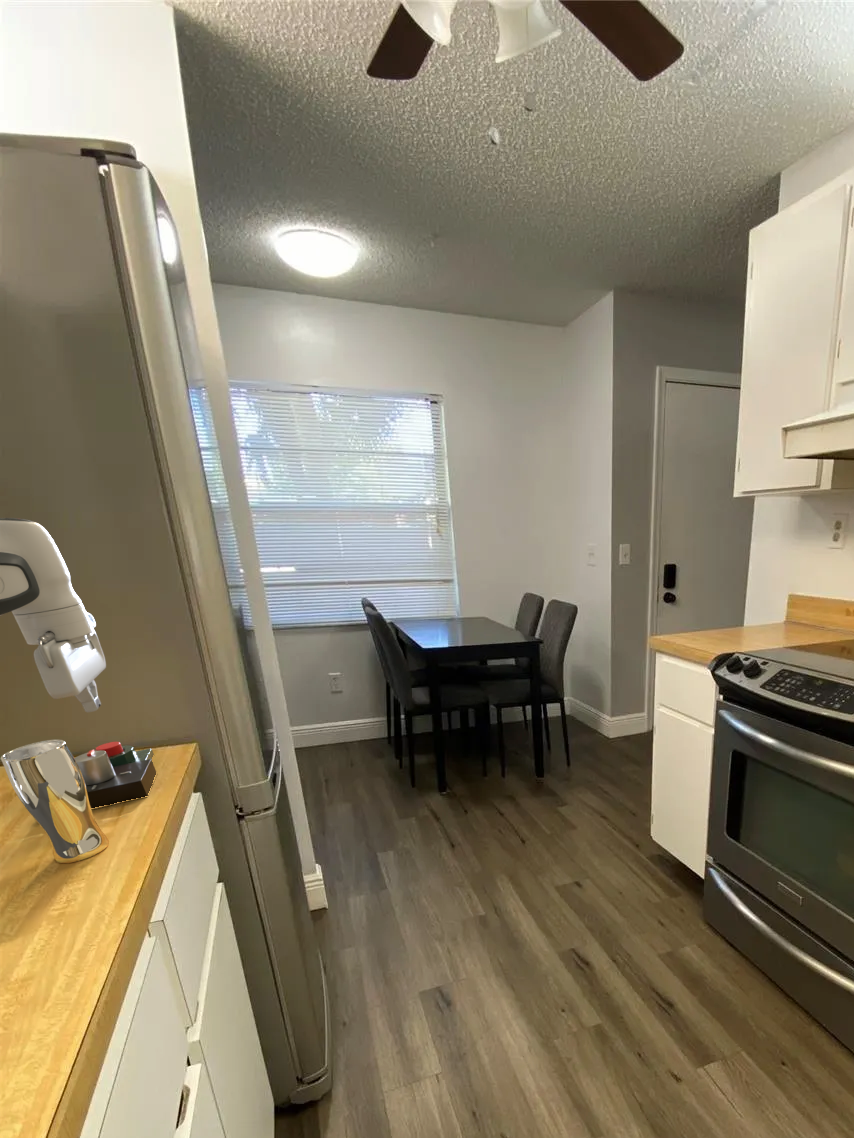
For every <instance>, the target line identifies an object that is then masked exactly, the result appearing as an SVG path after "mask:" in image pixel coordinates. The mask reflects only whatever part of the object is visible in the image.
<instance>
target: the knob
mask: <svg viewBox="0 0 854 1138" xmlns="http://www.w3.org/2000/svg"><path fill="white" fill-rule="evenodd" d="M74 759H75V760H76V762H77V764H78V766H79V768H80V770H81V773H82V775H83V777H84V780H85V784H86V785H93V784H98V783H102V782H105V781H107V780H110V779H112V778H113V777H114V776H115V775H116V774H115V771H114V769H113V767H112V764H111V762H110V760H109V758H108V755H107V753H106V751H96V750H95V749H90V750H89V751H88V752H85V753H82V754H80V755H77V756H76V757H74Z"/></svg>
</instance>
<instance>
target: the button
mask: <svg viewBox="0 0 854 1138" xmlns="http://www.w3.org/2000/svg"><path fill="white" fill-rule="evenodd" d="M122 746H123V745H122V744H121V742H120V741H110V742H106V743H102V744H100V745H98V746H96V747H95V751H106V753H107V755H108V757H110V756H114V755H117V754H120V753H121V752H123V748H122Z"/></svg>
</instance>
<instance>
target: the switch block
mask: <svg viewBox="0 0 854 1138" xmlns="http://www.w3.org/2000/svg"><path fill="white" fill-rule="evenodd" d="M121 746H122V748H123V752H121V753H120V754H117V755H114V756H110V757H108V758H109V760H110V762H111V764H112V767H115V766H120V765H125V764H129V763H134V762H139V761H143V760H148V759H151V760H152V757H153V755H154V756H155V754H154V751H153V749H152V747H150V748H146V749H140V750H136V749H135V747H134V746H132V745H128V744H127V745H121Z"/></svg>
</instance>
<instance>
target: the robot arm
mask: <svg viewBox="0 0 854 1138" xmlns="http://www.w3.org/2000/svg"><path fill="white" fill-rule="evenodd" d="M10 612H11V613H12V615H13V617H14V619H15V621H16V623H17V625H18V627H19V630H20V632H21V633H22V636H23V638H24V641H25V642H26V644H27V645H30V646H33V645H34V646H36V645H37V648H35V650H34V651H33V659H34V663H35V665H36V668H37V670H38V673H39V675H40V678H41V681H42V683H43V685H44V688H45V690H46V691H47V693H48V695H49V696H50V697H51V698H52V699H54V700H58V699H64V698H70V697H75V698H76V699H77V700H78V701H79V703H80V704H81V705H82V706H81V707H82V709H83V710H84V712H86V713H92V712H96V711H98V710H99V708H100V707H101V706H102V702H101V699H100V697H99V693H98V687H97V686H98V685H97V683H96V681H95V679H97V677H98V676H99V675H100V674H101V673H102V672H104V671H105V670H106V669H107V661H106V657H105V653H104V650H103V648H102V646H101V642H100V640H99V637H98V635H97V632H96V630H95V628H96V627H97V623H96V620H95V617H94V616H93V615H92V613H90V612H87V610H86V609H85V606H84V604H83V602H82V599H81V598H80V597H79V596H78V594H77V593H76V592H75V590H74V588H73V585H72V579H71V574H70V571H69V568H68V567H67V564H66V562H65V560H64V558H63V556H62V554H61V552H60V550H59V548H58V545H57V544H56V542H55V540H54V539H53V538H52V536H51V534H50V533H49V532H48V530H47V529H46V528H45V527H44V526H43V525H41V524H40V523H39V522H36V521H33V520H32V519H26V518H19V517H16V518H15V517H0V617H1V616H3V615H5V614H8V613H10Z"/></svg>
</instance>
